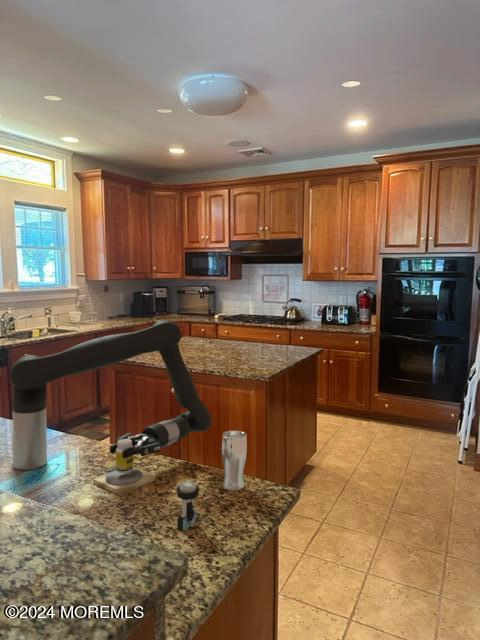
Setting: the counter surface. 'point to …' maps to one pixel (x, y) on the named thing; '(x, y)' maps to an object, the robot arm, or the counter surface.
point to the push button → (187, 504)
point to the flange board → (123, 480)
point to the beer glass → (234, 459)
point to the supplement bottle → (122, 463)
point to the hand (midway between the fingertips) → (116, 452)
